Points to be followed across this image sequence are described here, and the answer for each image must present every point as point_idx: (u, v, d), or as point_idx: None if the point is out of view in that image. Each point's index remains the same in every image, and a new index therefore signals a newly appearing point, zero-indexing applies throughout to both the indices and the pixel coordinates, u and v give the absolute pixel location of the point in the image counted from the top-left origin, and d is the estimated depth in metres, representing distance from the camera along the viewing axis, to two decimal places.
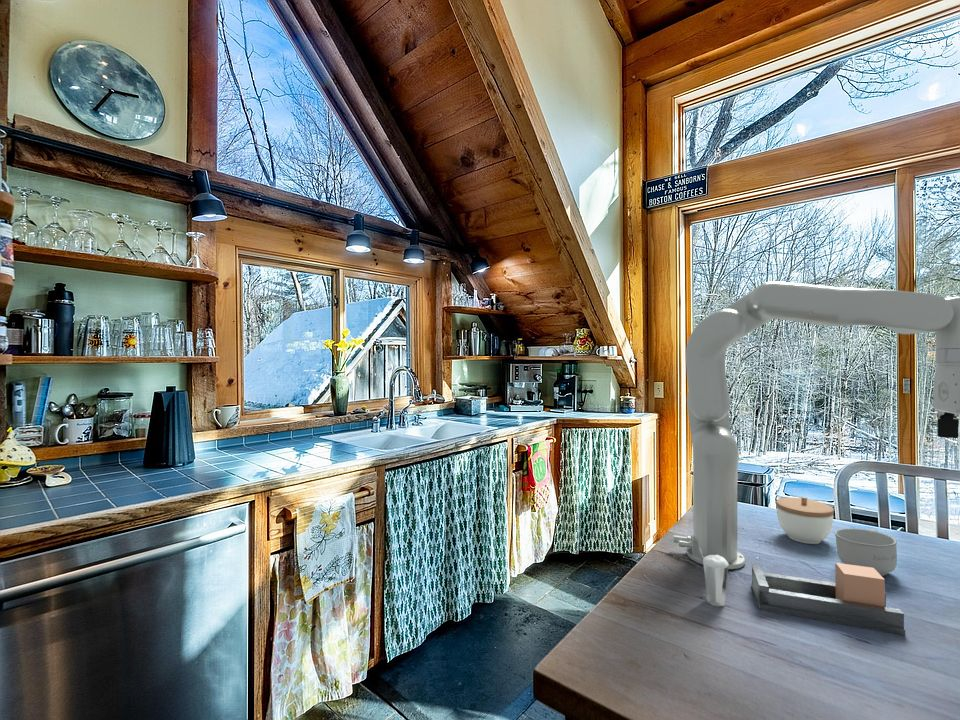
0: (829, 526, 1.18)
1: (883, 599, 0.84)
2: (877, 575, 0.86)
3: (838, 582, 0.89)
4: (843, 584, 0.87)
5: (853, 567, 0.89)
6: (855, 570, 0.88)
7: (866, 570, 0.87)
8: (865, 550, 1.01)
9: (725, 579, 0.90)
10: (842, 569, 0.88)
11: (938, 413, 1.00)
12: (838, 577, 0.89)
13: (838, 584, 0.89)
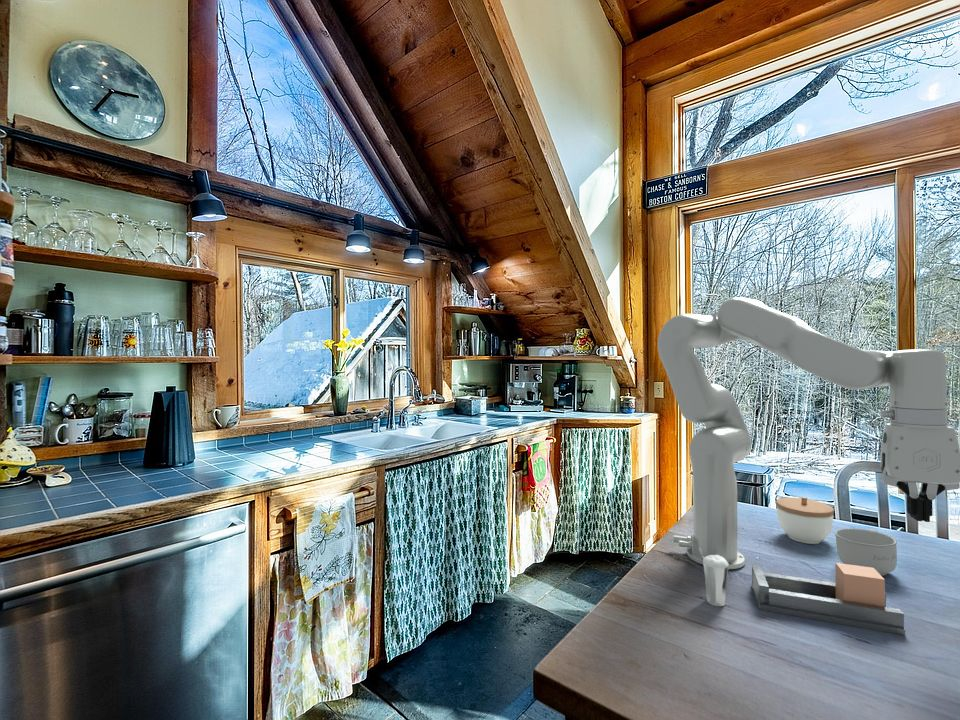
0: (829, 526, 1.18)
1: (883, 599, 0.84)
2: (877, 575, 0.86)
3: (838, 582, 0.89)
4: (843, 584, 0.87)
5: (853, 567, 0.89)
6: (855, 570, 0.88)
7: (866, 570, 0.87)
8: (865, 550, 1.01)
9: (725, 579, 0.90)
10: (842, 569, 0.88)
11: (912, 492, 0.83)
12: (838, 577, 0.89)
13: (838, 584, 0.89)
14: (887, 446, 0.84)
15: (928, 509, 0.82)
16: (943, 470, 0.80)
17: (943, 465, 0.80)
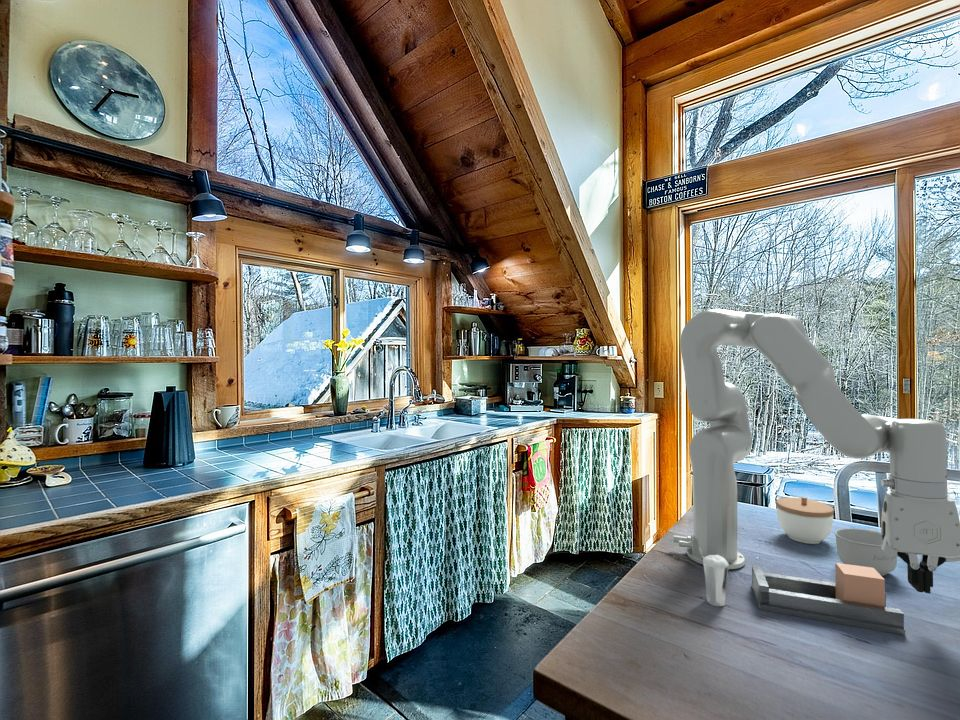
0: (829, 526, 1.18)
1: (883, 599, 0.84)
2: (877, 575, 0.86)
3: (838, 582, 0.89)
4: (843, 584, 0.87)
5: (853, 567, 0.89)
6: (855, 570, 0.88)
7: (866, 570, 0.87)
8: (865, 550, 1.01)
9: (725, 579, 0.90)
10: (842, 569, 0.88)
11: (913, 563, 0.83)
12: (838, 577, 0.89)
13: (838, 584, 0.89)
14: (887, 516, 0.84)
15: (929, 581, 0.82)
16: (943, 543, 0.80)
17: (943, 538, 0.80)
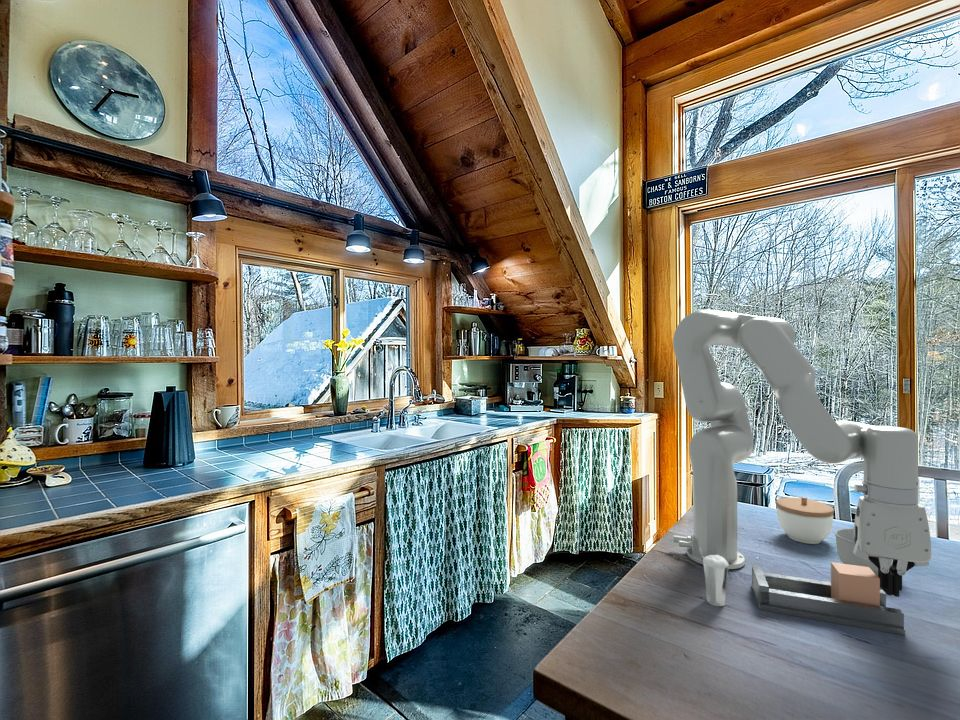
0: (829, 526, 1.18)
1: (878, 598, 0.84)
2: (872, 574, 0.86)
3: (834, 581, 0.89)
4: (838, 583, 0.87)
5: (849, 566, 0.89)
6: (851, 569, 0.88)
7: (861, 569, 0.88)
8: None
9: (725, 579, 0.90)
10: (837, 568, 0.88)
11: (883, 567, 0.85)
12: (833, 576, 0.89)
13: (833, 583, 0.89)
14: (860, 521, 0.86)
15: (898, 584, 0.84)
16: (913, 548, 0.82)
17: (913, 543, 0.82)
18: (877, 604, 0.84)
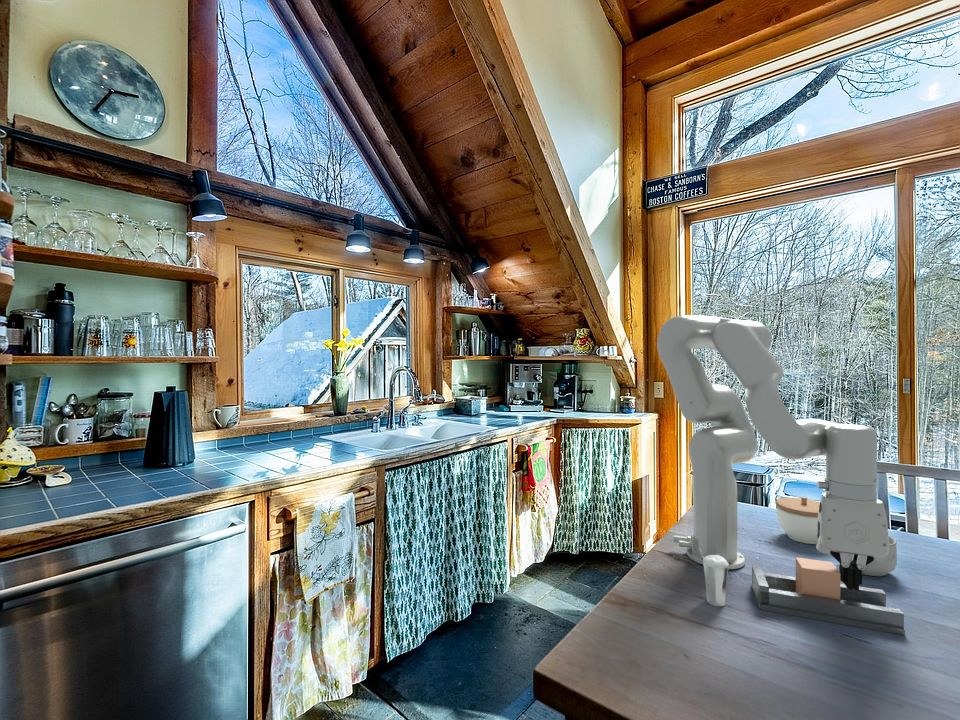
0: None
1: (839, 592, 0.86)
2: (833, 569, 0.88)
3: (798, 576, 0.91)
4: (801, 578, 0.89)
5: (812, 561, 0.91)
6: (813, 564, 0.90)
7: (824, 564, 0.90)
8: None
9: (725, 579, 0.90)
10: (801, 563, 0.90)
11: (844, 562, 0.87)
12: (797, 571, 0.92)
13: (797, 578, 0.92)
14: (821, 516, 0.88)
15: (858, 578, 0.86)
16: (871, 543, 0.84)
17: (871, 538, 0.84)
18: (838, 598, 0.86)
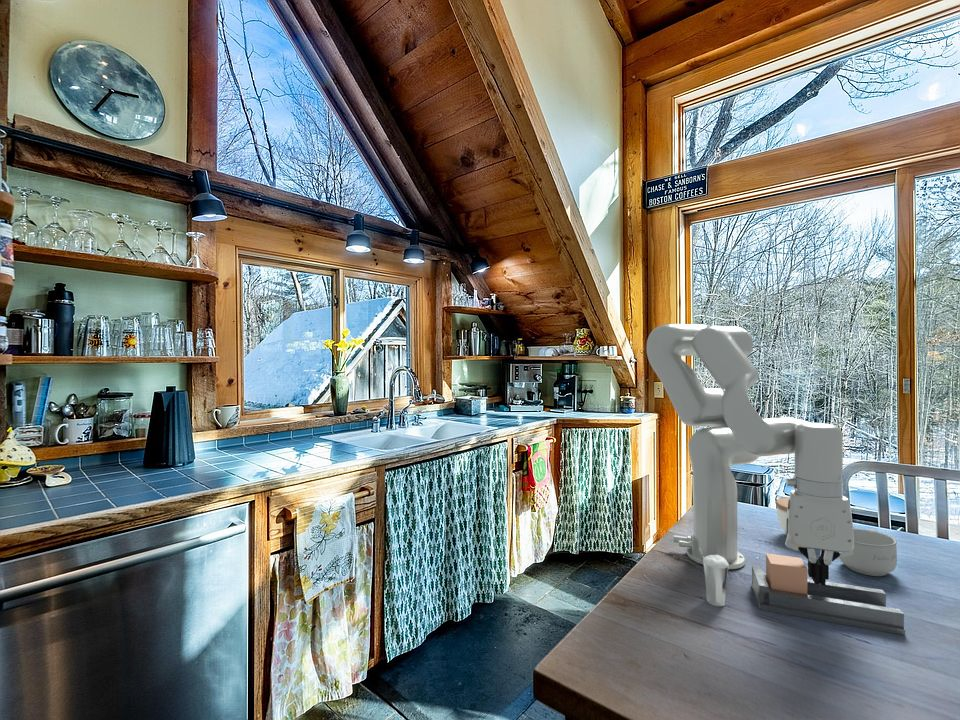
0: None
1: (806, 587, 0.88)
2: (801, 564, 0.90)
3: (767, 572, 0.93)
4: (770, 573, 0.91)
5: (781, 557, 0.93)
6: (782, 560, 0.92)
7: (792, 560, 0.92)
8: (865, 550, 1.01)
9: (725, 579, 0.90)
10: (770, 559, 0.92)
11: (811, 557, 0.89)
12: (767, 567, 0.94)
13: (767, 573, 0.94)
14: (789, 513, 0.90)
15: (824, 574, 0.88)
16: (837, 539, 0.86)
17: (837, 534, 0.86)
18: (805, 593, 0.88)
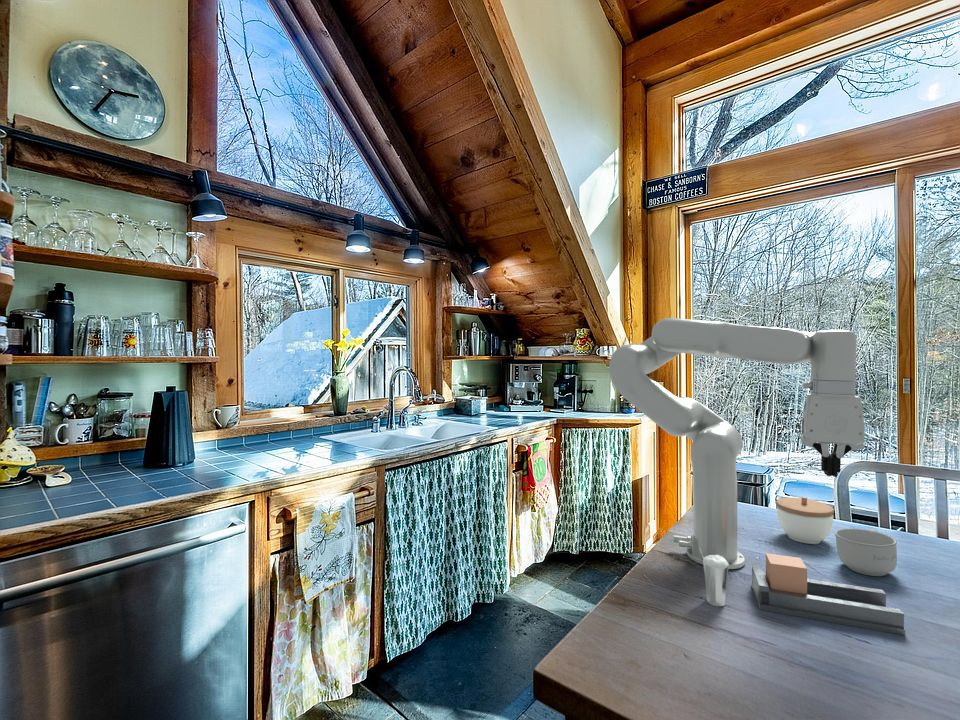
0: (829, 526, 1.18)
1: (805, 587, 0.88)
2: (801, 564, 0.90)
3: (767, 572, 0.93)
4: (770, 573, 0.91)
5: (781, 557, 0.93)
6: (782, 560, 0.92)
7: (792, 560, 0.92)
8: (865, 550, 1.01)
9: (725, 579, 0.90)
10: (770, 559, 0.92)
11: (824, 452, 0.97)
12: (767, 567, 0.94)
13: (767, 573, 0.94)
14: (805, 412, 0.98)
15: (836, 466, 0.96)
16: (849, 432, 0.94)
17: (849, 428, 0.94)
18: (805, 593, 0.88)
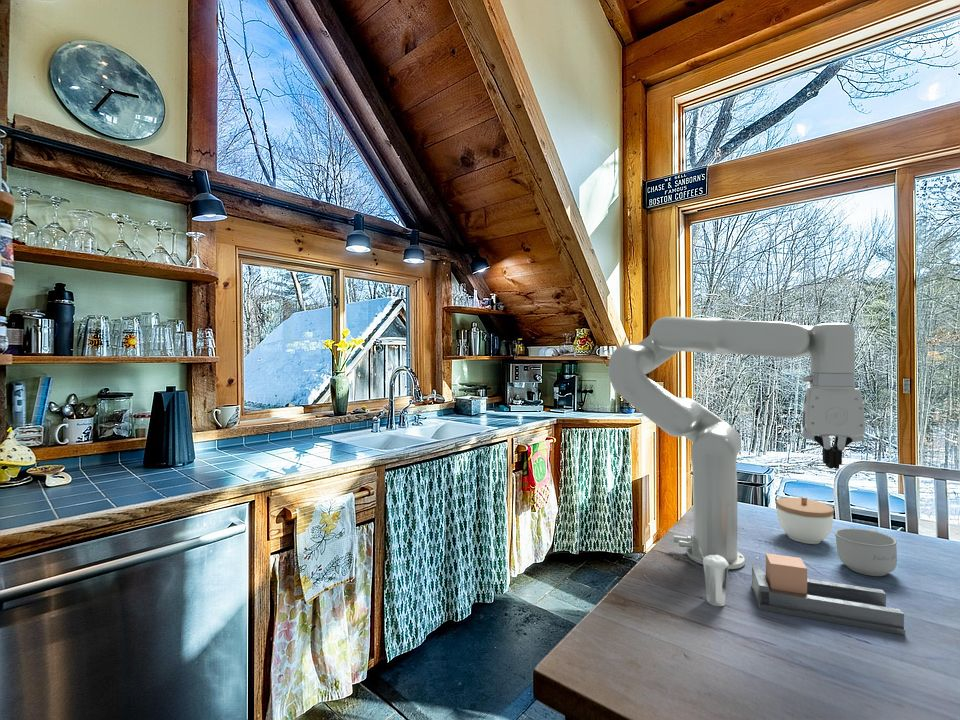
0: (829, 526, 1.18)
1: (805, 587, 0.88)
2: (801, 564, 0.90)
3: (767, 572, 0.93)
4: (770, 573, 0.91)
5: (781, 557, 0.93)
6: (782, 560, 0.92)
7: (792, 560, 0.92)
8: (865, 550, 1.01)
9: (725, 579, 0.90)
10: (770, 559, 0.92)
11: (826, 444, 0.98)
12: (767, 567, 0.94)
13: (767, 573, 0.94)
14: (806, 405, 0.99)
15: (838, 458, 0.97)
16: (849, 424, 0.95)
17: (849, 420, 0.95)
18: (805, 593, 0.88)
